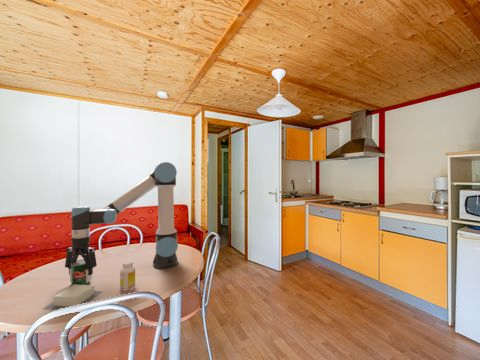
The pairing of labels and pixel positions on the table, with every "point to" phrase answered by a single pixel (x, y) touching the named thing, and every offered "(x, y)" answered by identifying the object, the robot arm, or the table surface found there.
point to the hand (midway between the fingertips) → (80, 280)
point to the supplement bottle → (127, 276)
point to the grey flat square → (68, 306)
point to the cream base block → (74, 295)
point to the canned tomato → (78, 273)
